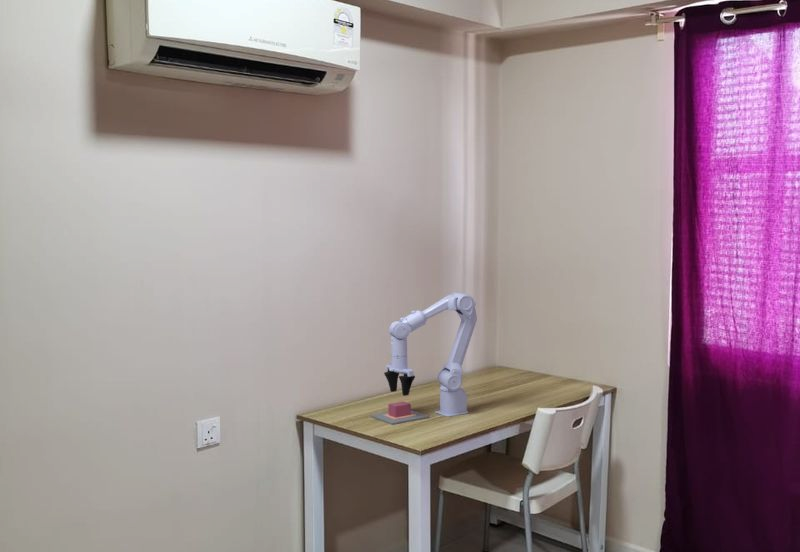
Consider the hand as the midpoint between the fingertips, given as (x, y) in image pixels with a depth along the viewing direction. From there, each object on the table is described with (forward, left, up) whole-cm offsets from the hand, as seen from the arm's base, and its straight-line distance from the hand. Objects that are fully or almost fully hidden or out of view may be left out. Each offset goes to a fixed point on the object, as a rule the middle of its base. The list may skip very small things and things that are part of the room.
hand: (399, 393), depth 284 cm
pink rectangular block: (0, 0, -8) cm, 8 cm away
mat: (0, 0, -9) cm, 9 cm away
